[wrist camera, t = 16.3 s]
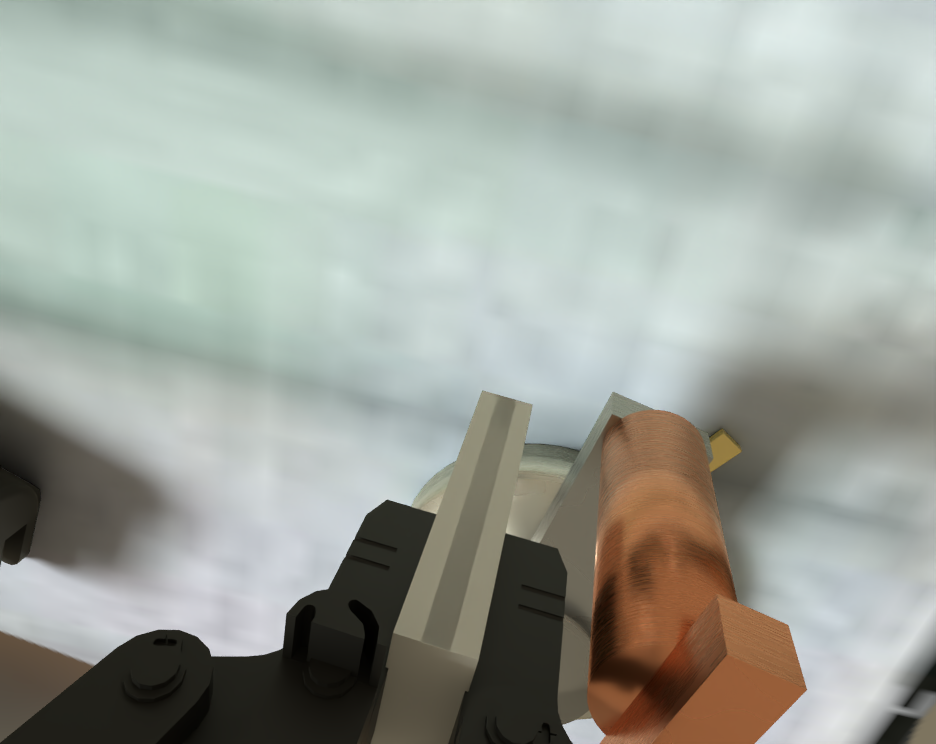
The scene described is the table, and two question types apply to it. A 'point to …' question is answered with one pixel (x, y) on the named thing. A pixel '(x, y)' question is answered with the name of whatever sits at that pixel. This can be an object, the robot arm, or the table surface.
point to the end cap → (16, 516)
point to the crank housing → (545, 484)
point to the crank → (658, 593)
